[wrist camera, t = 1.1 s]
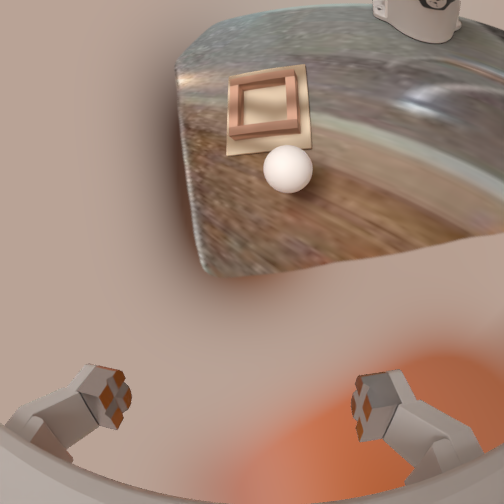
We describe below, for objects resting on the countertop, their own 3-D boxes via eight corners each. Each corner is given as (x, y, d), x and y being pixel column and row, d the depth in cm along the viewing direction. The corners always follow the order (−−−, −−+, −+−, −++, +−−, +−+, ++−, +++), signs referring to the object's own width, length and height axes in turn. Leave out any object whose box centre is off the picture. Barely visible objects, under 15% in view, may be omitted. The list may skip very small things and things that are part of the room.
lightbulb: (289, 156, 42) (267, 132, 31) (325, 169, 40) (316, 147, 30) (274, 192, 43) (249, 178, 32) (311, 206, 41) (296, 196, 31)
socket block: (230, 78, 44) (222, 70, 41) (305, 66, 39) (301, 56, 37) (227, 156, 45) (219, 151, 42) (311, 149, 40) (308, 142, 37)
